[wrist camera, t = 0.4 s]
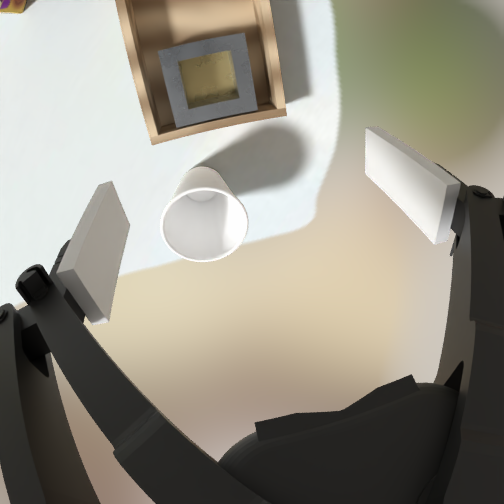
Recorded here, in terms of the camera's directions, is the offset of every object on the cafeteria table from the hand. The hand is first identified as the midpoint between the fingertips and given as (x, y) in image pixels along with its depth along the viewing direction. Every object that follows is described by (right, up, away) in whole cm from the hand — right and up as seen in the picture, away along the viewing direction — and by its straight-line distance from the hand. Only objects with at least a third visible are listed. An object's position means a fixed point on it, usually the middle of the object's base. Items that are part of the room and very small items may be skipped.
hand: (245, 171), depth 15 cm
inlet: (-5, +18, +19) cm, 27 cm away
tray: (-6, +22, +16) cm, 27 cm away
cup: (-7, +6, +28) cm, 30 cm away
